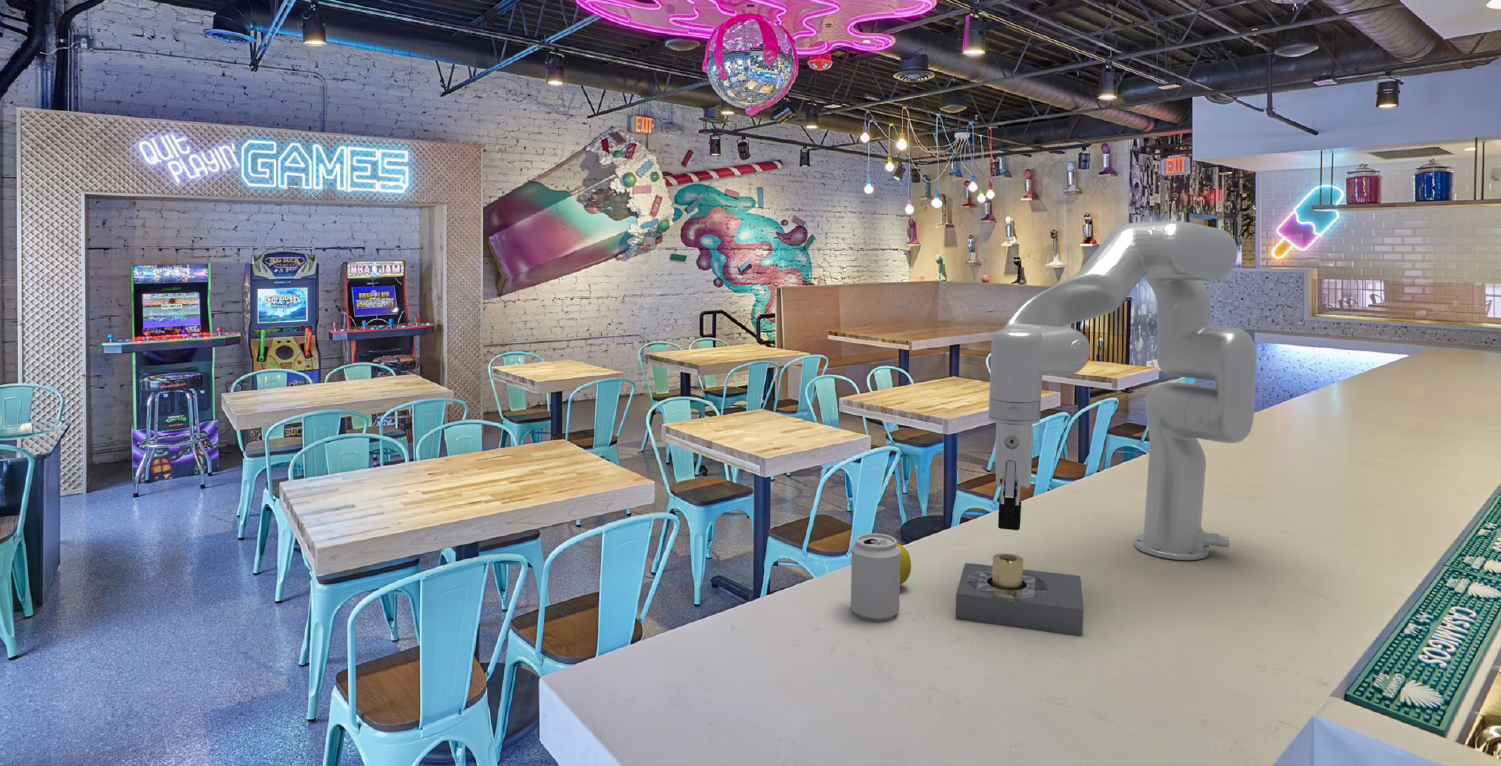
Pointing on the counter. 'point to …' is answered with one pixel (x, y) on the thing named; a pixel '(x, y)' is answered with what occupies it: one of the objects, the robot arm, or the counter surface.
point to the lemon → (904, 564)
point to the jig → (1022, 600)
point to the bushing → (1007, 572)
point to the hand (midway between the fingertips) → (1009, 526)
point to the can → (875, 577)
